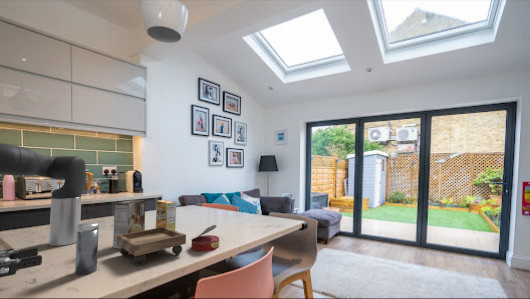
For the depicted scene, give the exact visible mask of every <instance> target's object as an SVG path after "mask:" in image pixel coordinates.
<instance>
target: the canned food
mask: <svg viewBox="0 0 530 299" xmlns="http://www.w3.org/2000/svg"><path fill="white" fill-rule="evenodd" d="M216 228H217V225H216V224H212V225H211V226H208V227H207V228H206V229H204V230H203V232H201V233H200V234H198V235H197V236H196V237H193V238H191V239H190V240H191V250H192V251H195V252H209V251H210V252H211V251H214V250H217V249H219V247H220V237H218V236H217V235H207V233H210V232H211V231H213V230H215V229H216Z"/></svg>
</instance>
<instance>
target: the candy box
mask: <svg viewBox="0 0 530 299" xmlns="http://www.w3.org/2000/svg"><path fill="white" fill-rule="evenodd" d="M155 212H156V213H155V228H160V227H166V228H169V229H172V230H175V231H176V223H177V222H176V220H177V219H176V218H177V216H176V215H177V202H176V201H172V200H166V199H161V200H156V209H155Z"/></svg>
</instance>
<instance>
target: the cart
mask: <svg viewBox="0 0 530 299" xmlns="http://www.w3.org/2000/svg"><path fill="white" fill-rule="evenodd" d="M186 244H187V234H185V233H183V232H180V231H177V230H176V229H175V230H172V229H169V228H166V227H160V228H156V227H155V228H150V229H145V230H144V231H138V232H133V233H127V234H122V235H117V245H118V246H120V247H121V248H119V253H120V254H121V255H122V256H127V255H129V254H131V255H133V256H134V257H133V262H134V263H135V265H138V266H139V265H140V266H141V265H142V264H144V263H145V261H146V258H147V257H146V255H147V254H150V253H154V252H158V251H161V250H166V249H170V248H172V249H171V251H172V253H173V254H174V255H180V254H181V253H182V252H183V246H182V245H186Z"/></svg>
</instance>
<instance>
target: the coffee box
mask: <svg viewBox="0 0 530 299" xmlns="http://www.w3.org/2000/svg"><path fill="white" fill-rule="evenodd" d="M113 210H114V211H113V238H112V241H113V243H112V248H113V249H120V248H121V247H120V246H118V245H117V235H122V234H127V233H133V232H138V231H144V230H146V229H145V225H146V223H145V222H146V200H145V199H144V200H143V199H142V200H140V199H137V200H136V199H130V200H126V201H125V200H124V201H120V202H115V203H114V206H113Z"/></svg>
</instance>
